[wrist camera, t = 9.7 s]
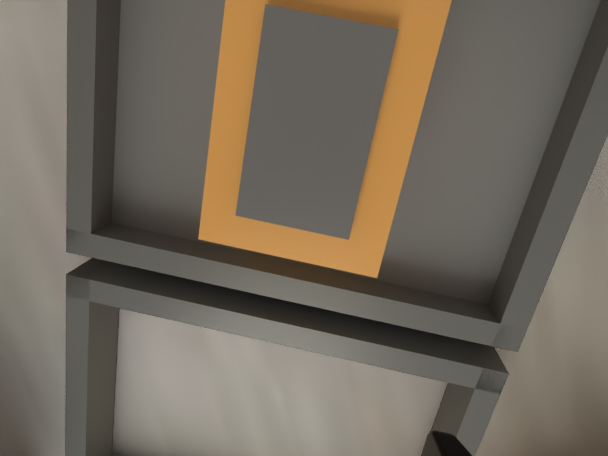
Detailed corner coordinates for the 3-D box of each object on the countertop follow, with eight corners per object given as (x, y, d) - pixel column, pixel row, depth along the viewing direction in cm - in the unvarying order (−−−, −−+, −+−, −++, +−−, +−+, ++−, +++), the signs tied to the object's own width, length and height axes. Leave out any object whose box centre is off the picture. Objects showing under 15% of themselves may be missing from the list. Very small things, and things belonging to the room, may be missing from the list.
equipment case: (93, 477, 24) (64, 519, 21) (101, 252, 19) (66, 274, 17) (406, 553, 23) (412, 606, 21) (488, 338, 19) (508, 373, 16)
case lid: (101, 252, 19) (66, 274, 17) (114, -139, 15) (68, -185, 12) (488, 338, 19) (508, 373, 16) (636, -47, 14) (694, -76, 11)
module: (245, 194, 17) (194, 242, 11) (274, 1, 15) (227, -56, 9) (369, 220, 17) (378, 282, 11) (417, 28, 14) (458, -14, 9)
